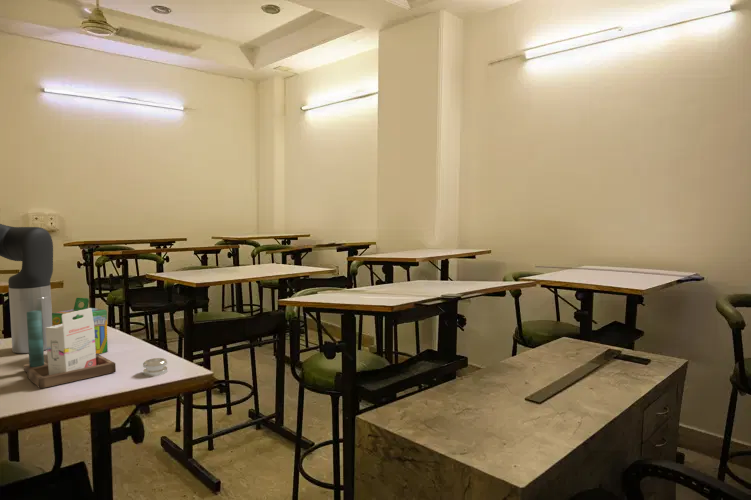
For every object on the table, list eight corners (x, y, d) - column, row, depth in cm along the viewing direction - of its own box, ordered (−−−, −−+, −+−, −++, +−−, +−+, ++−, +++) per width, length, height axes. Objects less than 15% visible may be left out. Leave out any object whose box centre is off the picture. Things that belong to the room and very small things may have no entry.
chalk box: (52, 357, 124) (49, 300, 123) (85, 348, 133) (82, 294, 132) (77, 361, 121) (74, 302, 120) (109, 351, 129) (107, 296, 128)
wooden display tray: (19, 370, 113) (16, 311, 112) (89, 357, 124) (86, 303, 123) (40, 388, 101) (36, 322, 100) (115, 371, 111) (113, 312, 110)
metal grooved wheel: (161, 368, 115) (139, 373, 111) (160, 356, 114) (139, 360, 111) (171, 372, 111) (149, 378, 108) (171, 359, 111) (149, 365, 107)
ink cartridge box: (79, 368, 114) (76, 306, 114) (97, 369, 113) (94, 307, 112) (47, 380, 106) (43, 313, 105) (65, 381, 105) (62, 314, 104)
